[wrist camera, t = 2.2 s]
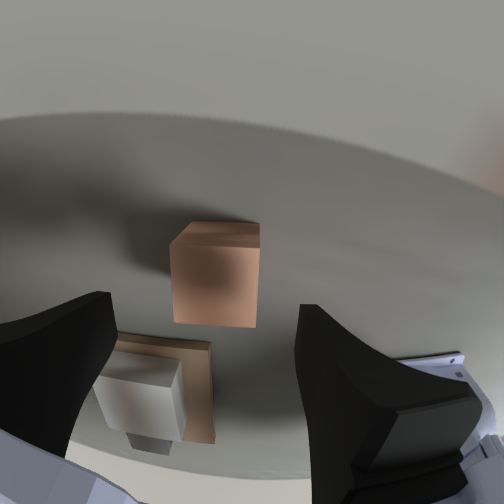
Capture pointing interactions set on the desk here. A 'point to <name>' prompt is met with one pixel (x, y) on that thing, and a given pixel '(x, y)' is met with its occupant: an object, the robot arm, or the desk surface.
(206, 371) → the plate
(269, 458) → the desk surface
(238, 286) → the terracotta block
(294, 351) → the robot arm
